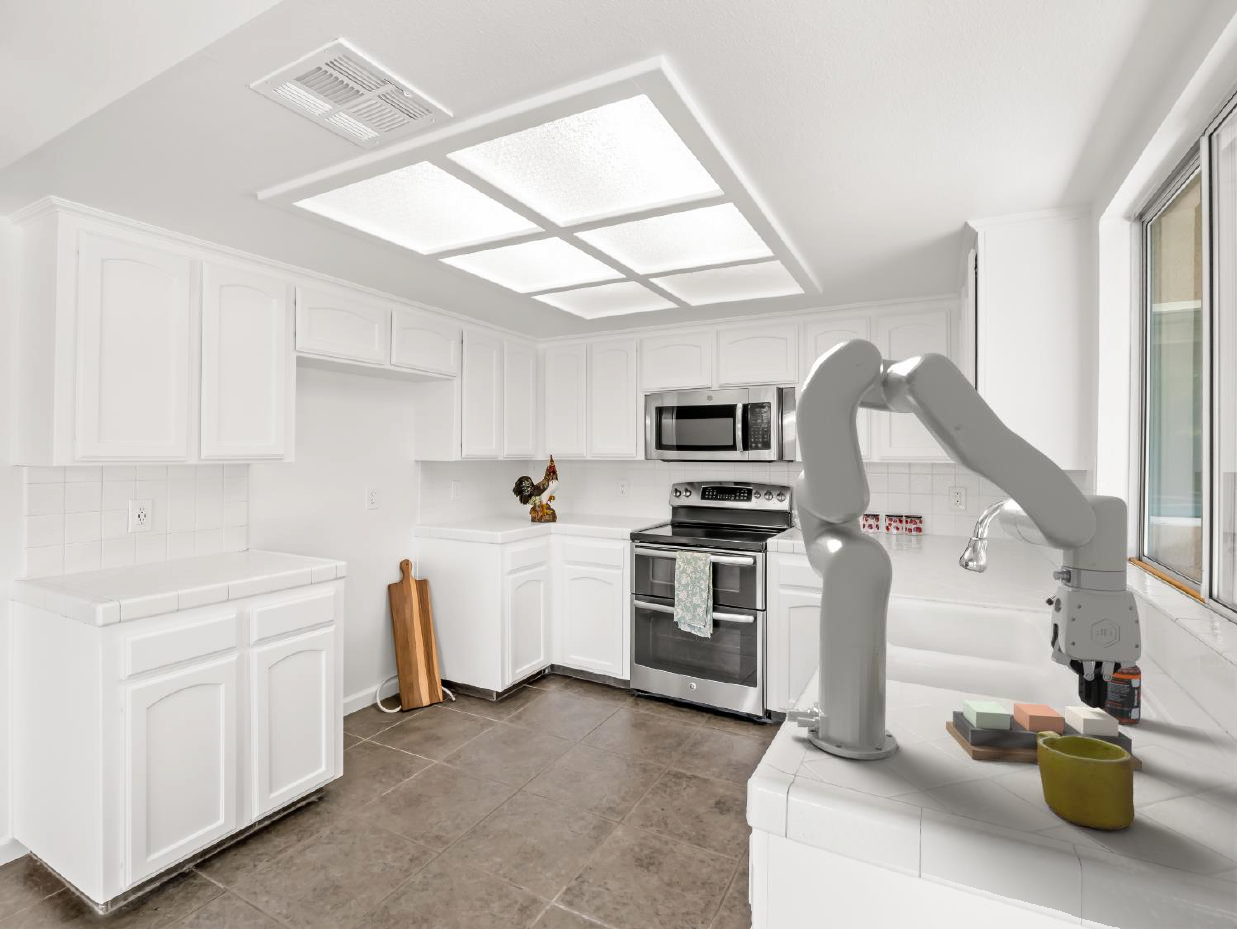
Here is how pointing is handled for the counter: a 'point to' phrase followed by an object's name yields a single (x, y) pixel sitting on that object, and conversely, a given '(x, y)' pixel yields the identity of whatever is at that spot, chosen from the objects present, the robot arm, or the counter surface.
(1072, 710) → the key cream
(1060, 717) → the key terracotta
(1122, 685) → the supplement bottle
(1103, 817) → the mug
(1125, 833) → the counter surface
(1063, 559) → the robot arm
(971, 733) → the key panel
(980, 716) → the key sage
